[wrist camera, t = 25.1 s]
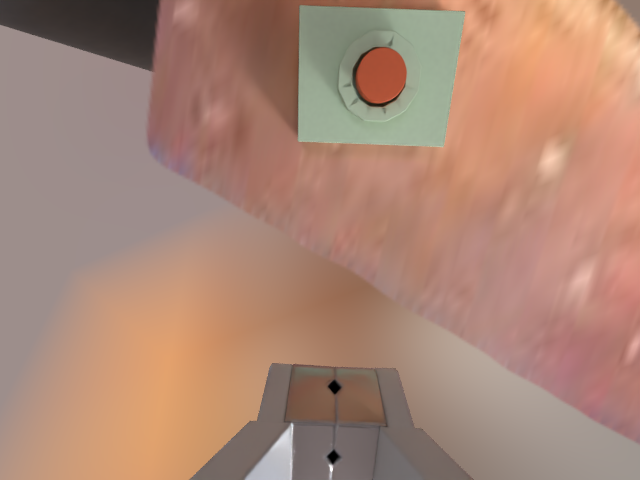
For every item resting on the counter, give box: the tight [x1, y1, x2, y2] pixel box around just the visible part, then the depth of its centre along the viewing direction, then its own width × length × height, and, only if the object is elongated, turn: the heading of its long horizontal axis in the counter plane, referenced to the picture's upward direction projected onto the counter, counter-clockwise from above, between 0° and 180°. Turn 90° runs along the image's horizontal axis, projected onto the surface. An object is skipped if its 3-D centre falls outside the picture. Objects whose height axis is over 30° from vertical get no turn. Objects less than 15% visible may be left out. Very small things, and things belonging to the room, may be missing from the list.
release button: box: [355, 47, 407, 104], centre depth 27 cm, size 4×4×2 cm
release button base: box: [298, 5, 465, 147], centre depth 29 cm, size 14×11×5 cm
